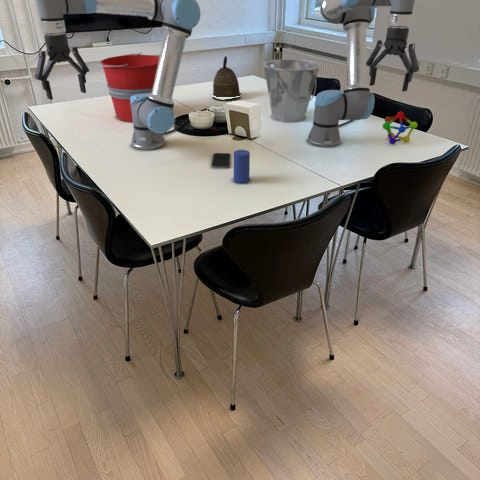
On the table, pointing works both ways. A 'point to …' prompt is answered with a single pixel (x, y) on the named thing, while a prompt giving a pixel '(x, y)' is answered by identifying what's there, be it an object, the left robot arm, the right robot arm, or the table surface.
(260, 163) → the table surface
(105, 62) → the bucket
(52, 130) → the table surface
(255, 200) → the table surface
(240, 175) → the can
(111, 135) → the table surface
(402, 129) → the educational toy
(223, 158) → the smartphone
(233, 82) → the bell
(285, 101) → the bucket
